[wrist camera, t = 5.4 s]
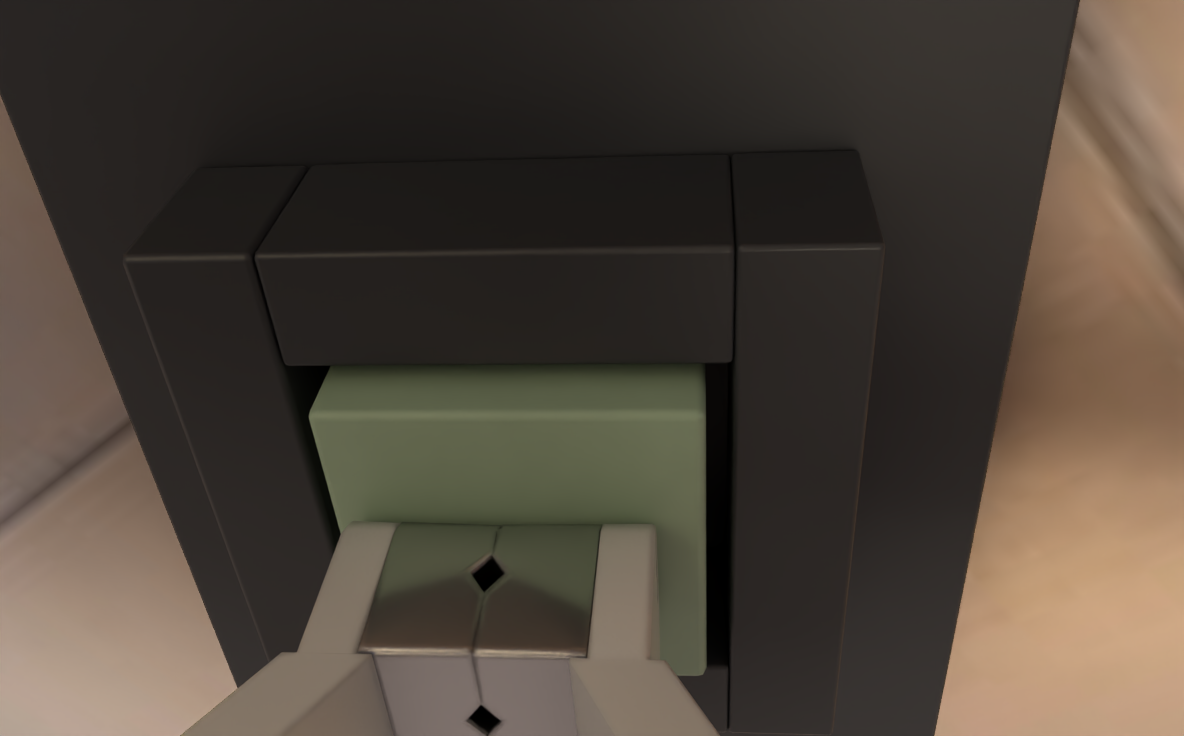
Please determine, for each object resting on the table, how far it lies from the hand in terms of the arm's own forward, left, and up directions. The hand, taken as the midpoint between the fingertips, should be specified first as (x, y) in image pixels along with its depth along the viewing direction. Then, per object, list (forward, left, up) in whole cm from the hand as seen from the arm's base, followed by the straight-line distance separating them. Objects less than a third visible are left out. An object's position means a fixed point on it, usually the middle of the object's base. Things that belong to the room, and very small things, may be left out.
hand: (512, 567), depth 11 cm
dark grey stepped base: (0, 0, -3) cm, 3 cm away
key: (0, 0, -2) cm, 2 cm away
